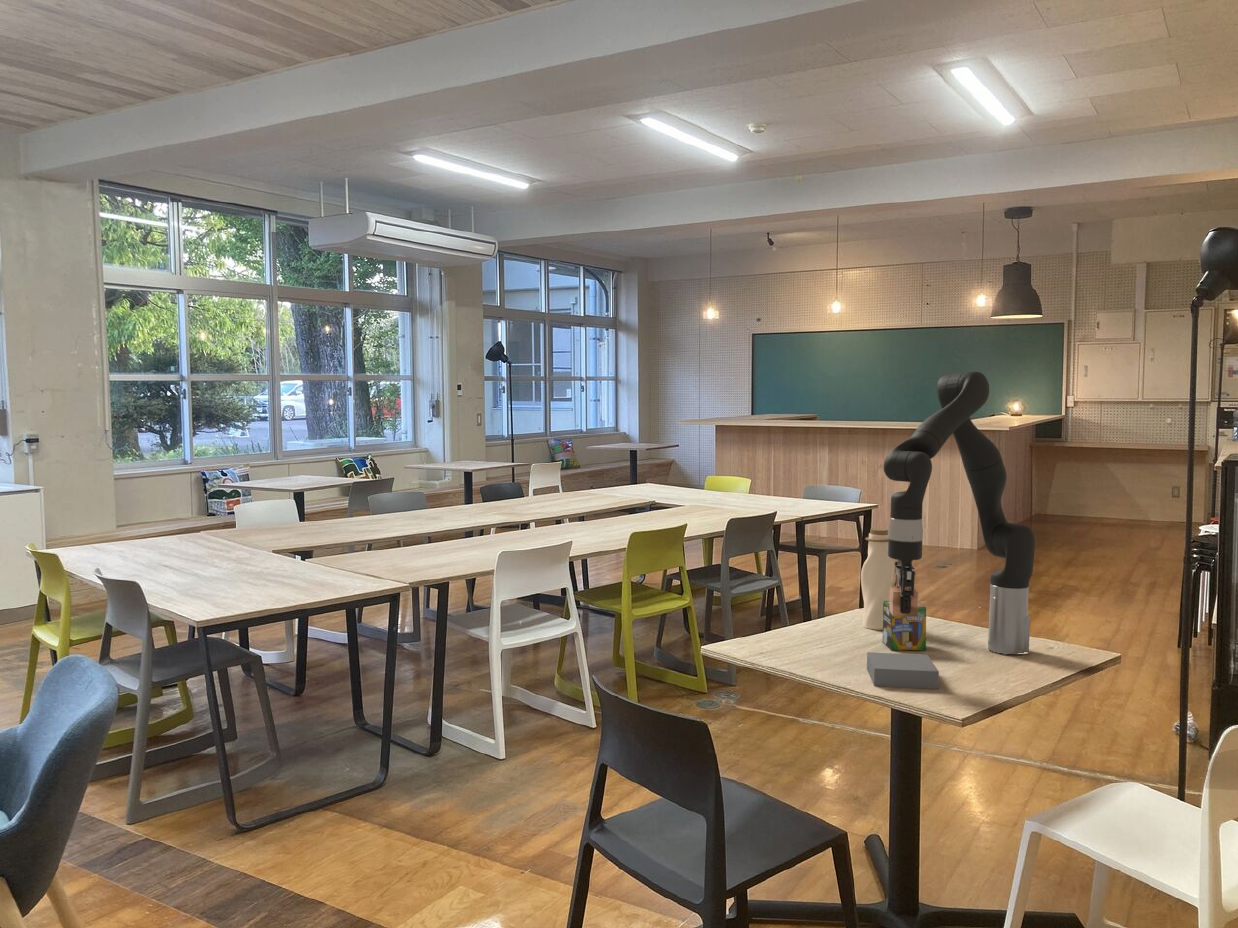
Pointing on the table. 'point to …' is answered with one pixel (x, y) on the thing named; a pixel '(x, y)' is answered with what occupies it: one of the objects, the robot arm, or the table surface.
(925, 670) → the charcoal base
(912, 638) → the chalk box
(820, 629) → the table surface
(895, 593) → the terracotta cube
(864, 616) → the water bottle
